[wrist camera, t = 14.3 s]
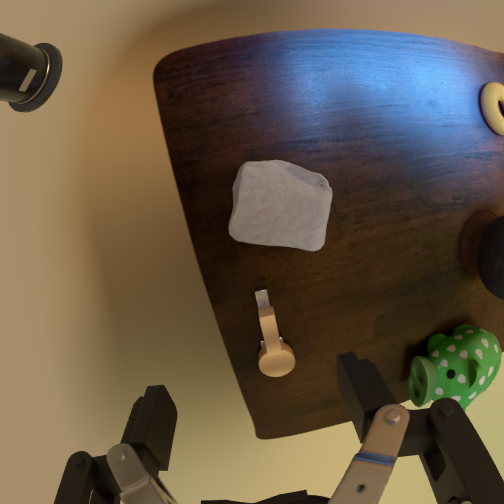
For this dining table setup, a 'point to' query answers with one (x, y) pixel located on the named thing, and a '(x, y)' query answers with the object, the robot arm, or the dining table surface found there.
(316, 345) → the dining table surface
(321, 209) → the stone block
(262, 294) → the fork
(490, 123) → the donut
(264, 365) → the wooden round paddle
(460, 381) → the piggy bank
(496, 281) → the black ball on stand
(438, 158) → the dining table surface
